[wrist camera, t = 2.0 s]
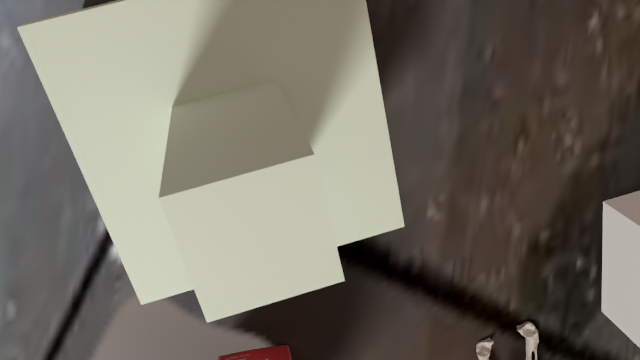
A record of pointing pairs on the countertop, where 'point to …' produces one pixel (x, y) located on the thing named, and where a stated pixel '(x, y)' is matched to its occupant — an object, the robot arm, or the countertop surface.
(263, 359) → the ink box
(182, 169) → the lid
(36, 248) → the countertop surface
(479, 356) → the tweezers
